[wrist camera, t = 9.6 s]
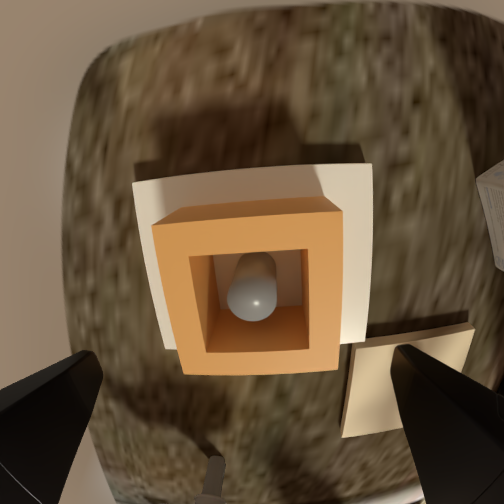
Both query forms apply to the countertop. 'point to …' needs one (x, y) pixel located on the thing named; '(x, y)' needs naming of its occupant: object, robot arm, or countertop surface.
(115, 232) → the countertop surface
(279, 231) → the collar
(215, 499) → the mechanical component
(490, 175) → the light bulb box
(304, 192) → the hub board
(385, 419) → the stand
